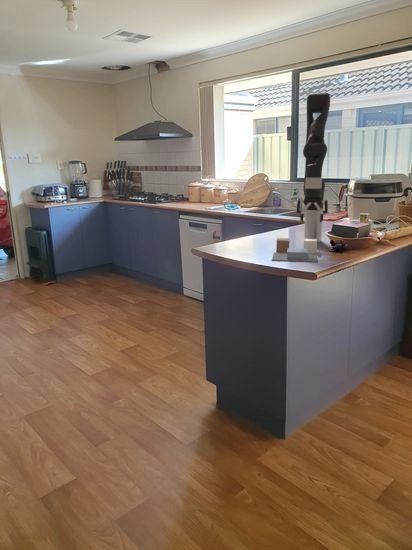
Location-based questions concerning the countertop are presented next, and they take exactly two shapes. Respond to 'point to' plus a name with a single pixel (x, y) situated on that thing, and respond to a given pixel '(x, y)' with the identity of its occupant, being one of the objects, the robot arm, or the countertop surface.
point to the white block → (310, 245)
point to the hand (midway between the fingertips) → (311, 221)
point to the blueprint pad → (284, 257)
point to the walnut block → (282, 244)
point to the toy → (337, 245)
